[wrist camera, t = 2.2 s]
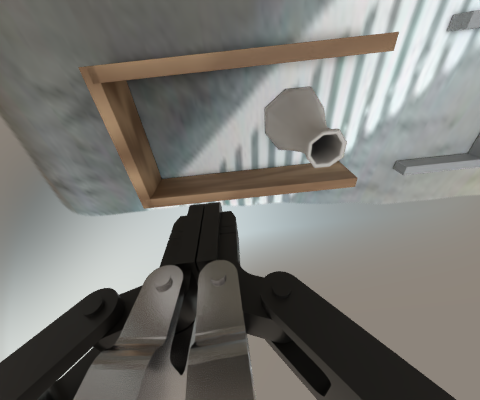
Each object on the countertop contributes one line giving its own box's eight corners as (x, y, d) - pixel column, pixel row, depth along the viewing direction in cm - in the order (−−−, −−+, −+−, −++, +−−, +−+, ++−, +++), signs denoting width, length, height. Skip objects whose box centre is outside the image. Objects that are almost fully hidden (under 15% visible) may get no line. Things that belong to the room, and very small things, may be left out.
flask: (254, 103, 23) (270, 126, 15) (317, 73, 21) (372, 81, 13) (273, 157, 27) (294, 199, 19) (327, 135, 25) (375, 170, 17)
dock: (453, 15, 19) (474, 10, 18) (570, 2, 19) (602, -4, 17) (393, 168, 29) (403, 175, 27) (471, 160, 28) (486, 166, 27)
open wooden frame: (108, 66, 20) (78, 67, 16) (363, 38, 20) (399, 31, 16) (156, 187, 28) (144, 208, 24) (336, 168, 28) (354, 186, 24)
